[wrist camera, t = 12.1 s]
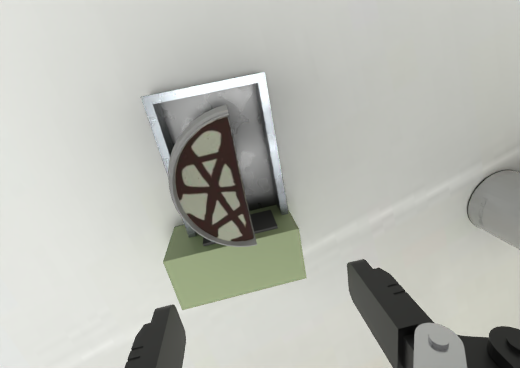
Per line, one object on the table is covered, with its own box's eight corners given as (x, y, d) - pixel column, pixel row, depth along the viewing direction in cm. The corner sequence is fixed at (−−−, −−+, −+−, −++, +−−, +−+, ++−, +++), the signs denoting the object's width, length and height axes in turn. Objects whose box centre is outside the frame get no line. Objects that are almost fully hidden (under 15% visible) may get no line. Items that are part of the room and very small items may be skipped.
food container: (166, 111, 27) (139, 123, 18) (224, 100, 28) (227, 106, 18) (197, 214, 32) (188, 266, 22) (247, 203, 32) (258, 250, 23)
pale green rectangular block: (283, 199, 33) (298, 226, 27) (290, 243, 36) (306, 277, 29) (173, 225, 32) (162, 259, 26) (189, 268, 35) (182, 310, 28)
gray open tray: (259, 73, 28) (264, 71, 24) (281, 201, 33) (288, 213, 30) (150, 95, 27) (140, 97, 24) (192, 222, 32) (188, 237, 29)
